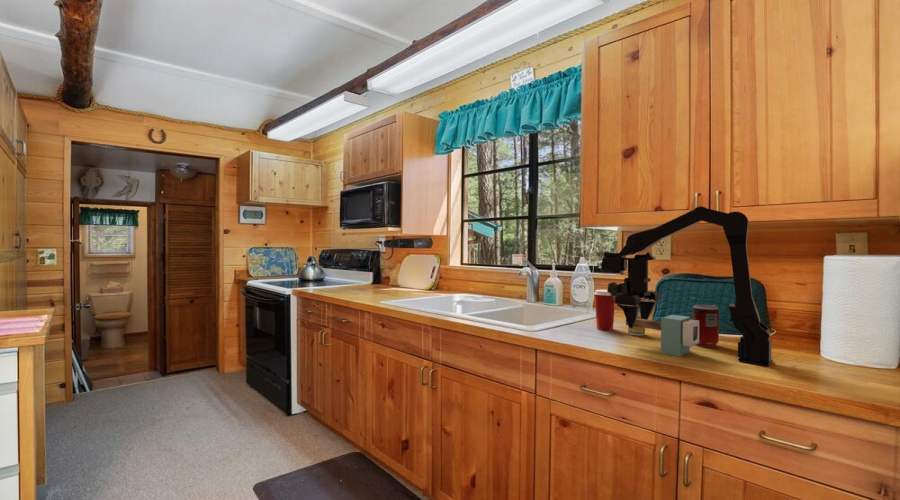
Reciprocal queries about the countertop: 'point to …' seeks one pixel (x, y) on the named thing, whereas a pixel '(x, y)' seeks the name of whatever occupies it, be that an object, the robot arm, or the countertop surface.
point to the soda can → (707, 324)
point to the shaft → (650, 324)
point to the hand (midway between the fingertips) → (637, 325)
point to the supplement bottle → (637, 328)
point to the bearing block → (673, 335)
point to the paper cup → (604, 310)
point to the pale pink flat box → (690, 333)
